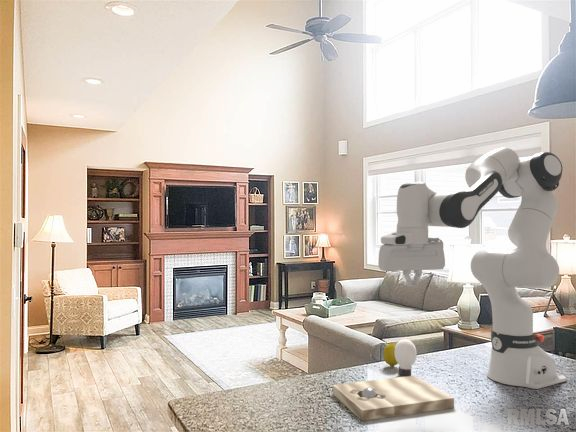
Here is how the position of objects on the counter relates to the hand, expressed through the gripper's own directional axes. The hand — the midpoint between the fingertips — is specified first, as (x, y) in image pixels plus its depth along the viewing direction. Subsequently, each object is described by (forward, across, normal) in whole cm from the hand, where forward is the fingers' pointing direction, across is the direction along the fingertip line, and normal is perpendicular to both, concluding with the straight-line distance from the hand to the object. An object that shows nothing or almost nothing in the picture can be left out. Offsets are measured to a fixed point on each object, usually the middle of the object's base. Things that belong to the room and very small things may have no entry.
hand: (412, 285), depth 134 cm
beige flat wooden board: (+29, +11, +7) cm, 32 cm away
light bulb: (+29, -4, -10) cm, 31 cm away
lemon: (+29, -4, -18) cm, 35 cm away
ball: (+27, +18, +7) cm, 33 cm away
